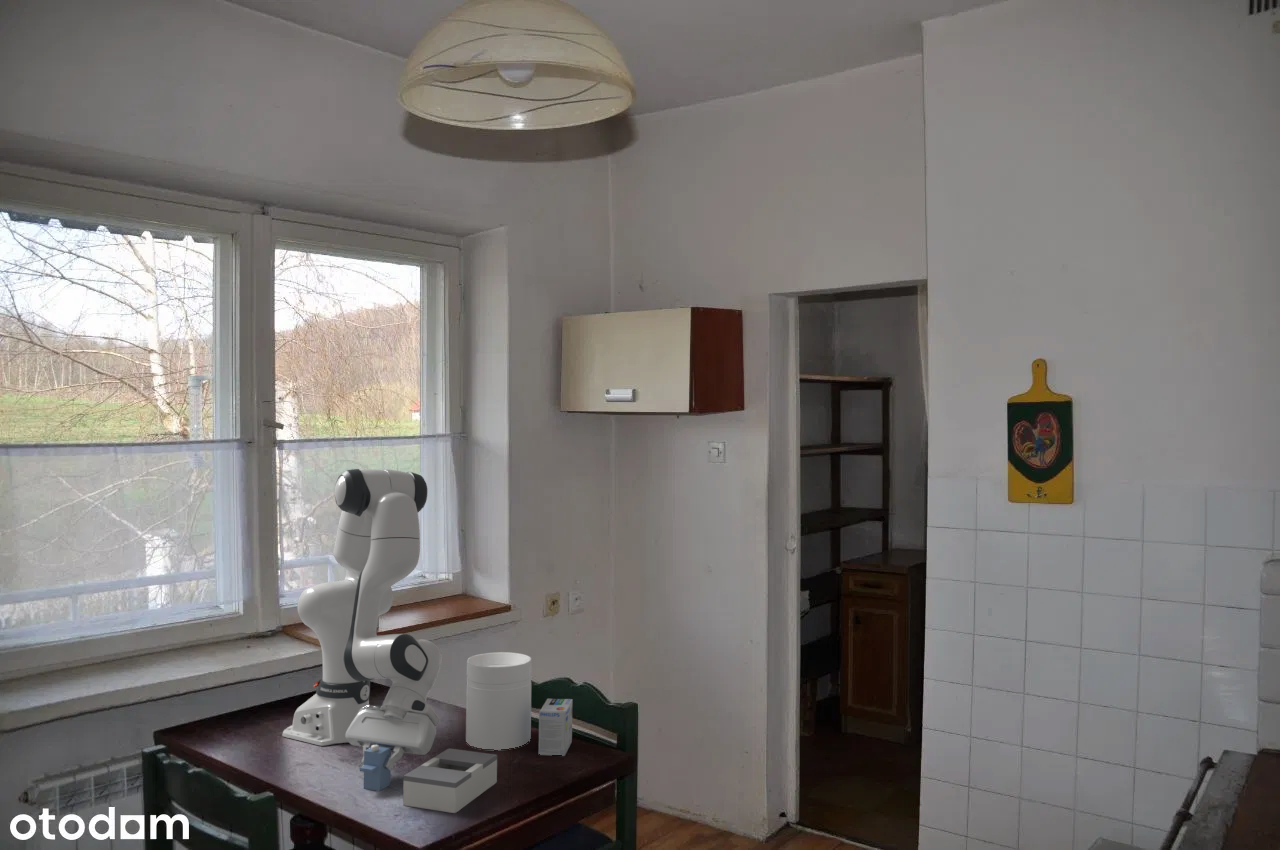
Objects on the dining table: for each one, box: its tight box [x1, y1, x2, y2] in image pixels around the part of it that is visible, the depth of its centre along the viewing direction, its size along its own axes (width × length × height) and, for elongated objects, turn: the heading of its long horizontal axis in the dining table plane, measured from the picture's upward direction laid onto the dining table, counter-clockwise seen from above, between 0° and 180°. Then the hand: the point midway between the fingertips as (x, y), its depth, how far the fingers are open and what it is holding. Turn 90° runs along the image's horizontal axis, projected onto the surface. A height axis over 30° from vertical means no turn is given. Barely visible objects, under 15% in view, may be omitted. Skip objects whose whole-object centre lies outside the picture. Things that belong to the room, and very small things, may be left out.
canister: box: [465, 651, 533, 751], centre depth 233 cm, size 16×16×20 cm
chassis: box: [402, 748, 498, 814], centre depth 197 cm, size 12×18×6 cm, turn 161°
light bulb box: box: [538, 698, 573, 757], centre depth 227 cm, size 11×7×11 cm, turn 175°
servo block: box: [359, 745, 392, 792], centre depth 201 cm, size 4×8×9 cm, turn 161°
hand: (375, 766), depth 200 cm, fingers closed on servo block, 4 cm apart
